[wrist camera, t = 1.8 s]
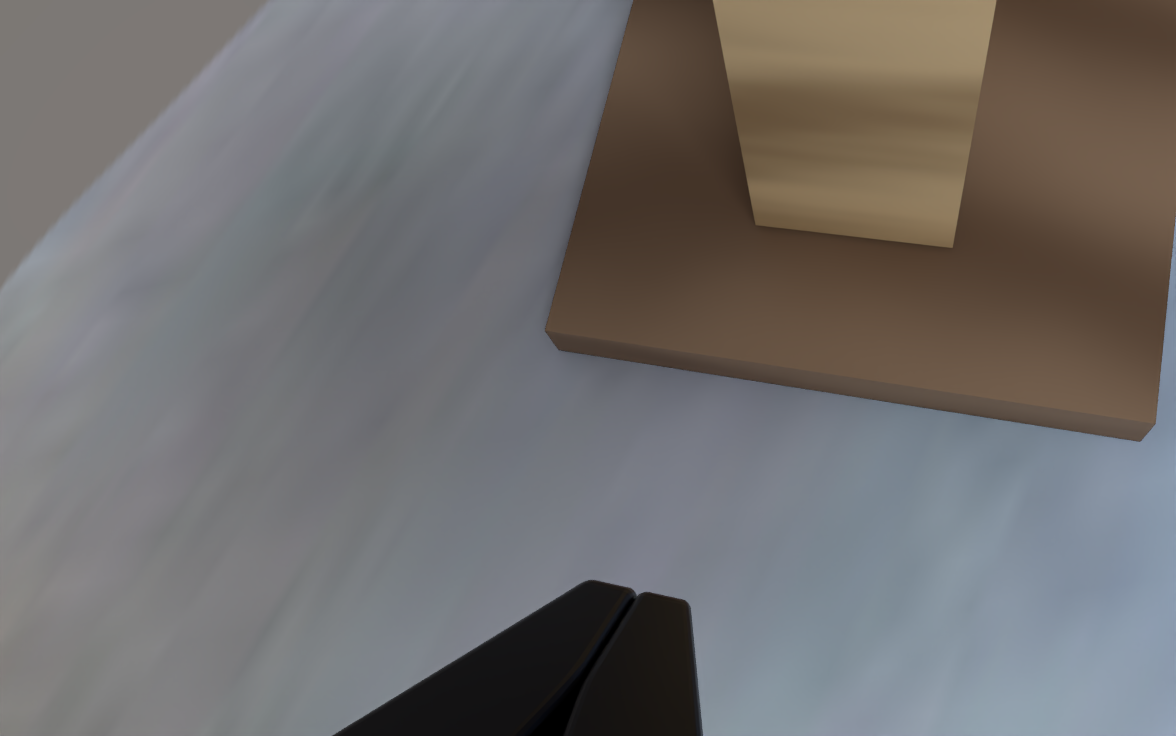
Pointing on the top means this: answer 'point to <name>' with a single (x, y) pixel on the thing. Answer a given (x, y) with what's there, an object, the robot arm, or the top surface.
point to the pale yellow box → (856, 111)
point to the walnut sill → (888, 268)
